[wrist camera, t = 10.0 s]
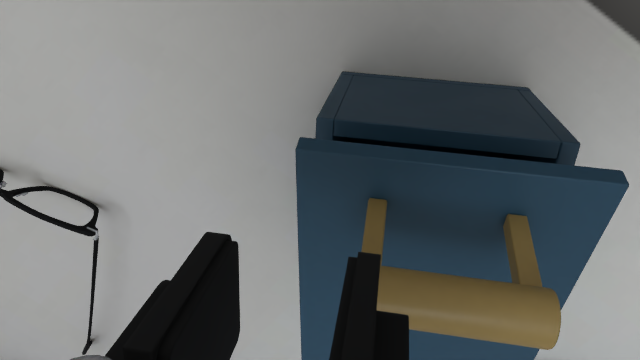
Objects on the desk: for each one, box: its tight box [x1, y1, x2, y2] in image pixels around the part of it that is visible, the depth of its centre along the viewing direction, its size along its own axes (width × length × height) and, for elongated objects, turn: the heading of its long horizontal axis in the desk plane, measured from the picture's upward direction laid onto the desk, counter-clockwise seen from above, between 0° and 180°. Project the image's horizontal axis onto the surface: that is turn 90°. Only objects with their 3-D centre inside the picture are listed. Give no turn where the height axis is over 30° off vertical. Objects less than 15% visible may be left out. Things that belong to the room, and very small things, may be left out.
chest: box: [316, 72, 580, 166], centre depth 28 cm, size 14×11×10 cm
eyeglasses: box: [0, 169, 99, 355], centre depth 39 cm, size 16×16×4 cm
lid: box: [296, 137, 629, 360], centre depth 20 cm, size 14×11×6 cm
